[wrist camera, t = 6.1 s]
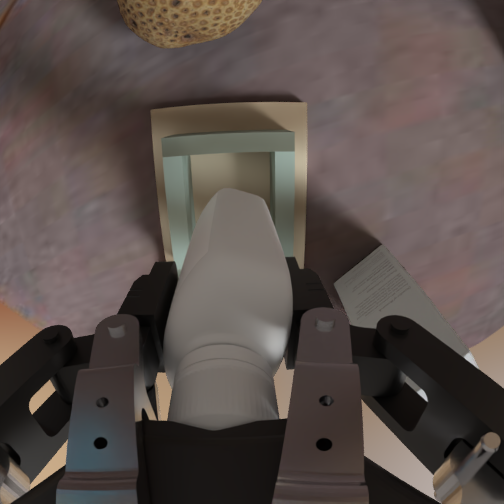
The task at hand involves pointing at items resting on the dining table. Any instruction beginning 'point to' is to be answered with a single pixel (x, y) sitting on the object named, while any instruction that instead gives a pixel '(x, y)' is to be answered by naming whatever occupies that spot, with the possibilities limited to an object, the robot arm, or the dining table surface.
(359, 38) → the dining table surface
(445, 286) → the dining table surface
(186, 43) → the natural sponge
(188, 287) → the eye dropper bottle
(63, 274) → the dining table surface
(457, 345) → the skincare box
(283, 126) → the frame
